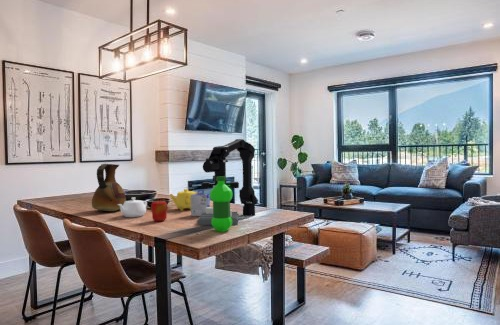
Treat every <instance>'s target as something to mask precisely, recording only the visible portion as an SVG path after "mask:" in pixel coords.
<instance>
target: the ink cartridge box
mask: <svg viewBox="0 0 500 325" xmlns="http://www.w3.org/2000/svg"><path fill="white" fill-rule="evenodd" d="M197 192H198V193H197V194H192V195H191V210H190V216H191V217H200V215H201V214H202V212H206V207H211V206H210V205H211V204H210V203H211V198H210V193H205V189H198V190H197Z"/></svg>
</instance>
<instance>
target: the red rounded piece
mask: <svg viewBox="0 0 500 325" xmlns="http://www.w3.org/2000/svg"><path fill="white" fill-rule="evenodd" d="M168 206H169V205H168V203H167V202H166V201H164V200H155V201H153V202H151V204H150V210H151V215H152V220H153V221H154V222H163V221H165V220H166V219H167V212H168Z"/></svg>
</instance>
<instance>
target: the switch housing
mask: <svg viewBox="0 0 500 325" xmlns="http://www.w3.org/2000/svg"><path fill="white" fill-rule="evenodd" d="M212 218H213V214H206V212H202V214H201V215H200V216H198V219H197V226H212V224H211V220H212ZM231 219H232V225H233V226H235V225H238V224H239V213H238V211H232V217H231Z"/></svg>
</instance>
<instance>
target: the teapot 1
mask: <svg viewBox="0 0 500 325" xmlns="http://www.w3.org/2000/svg"><path fill="white" fill-rule="evenodd" d="M117 205H119V206H120V209H119V210H120V212H121V214H122V216H124V217H126V218H138V217H143V216H144V215H145V214H146V212H147V206H148V201H146V200H140V199H136V197H133V196H132V197H131V199H130V200H126V201H125V202H124V204H123V206H122V204H117Z"/></svg>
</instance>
